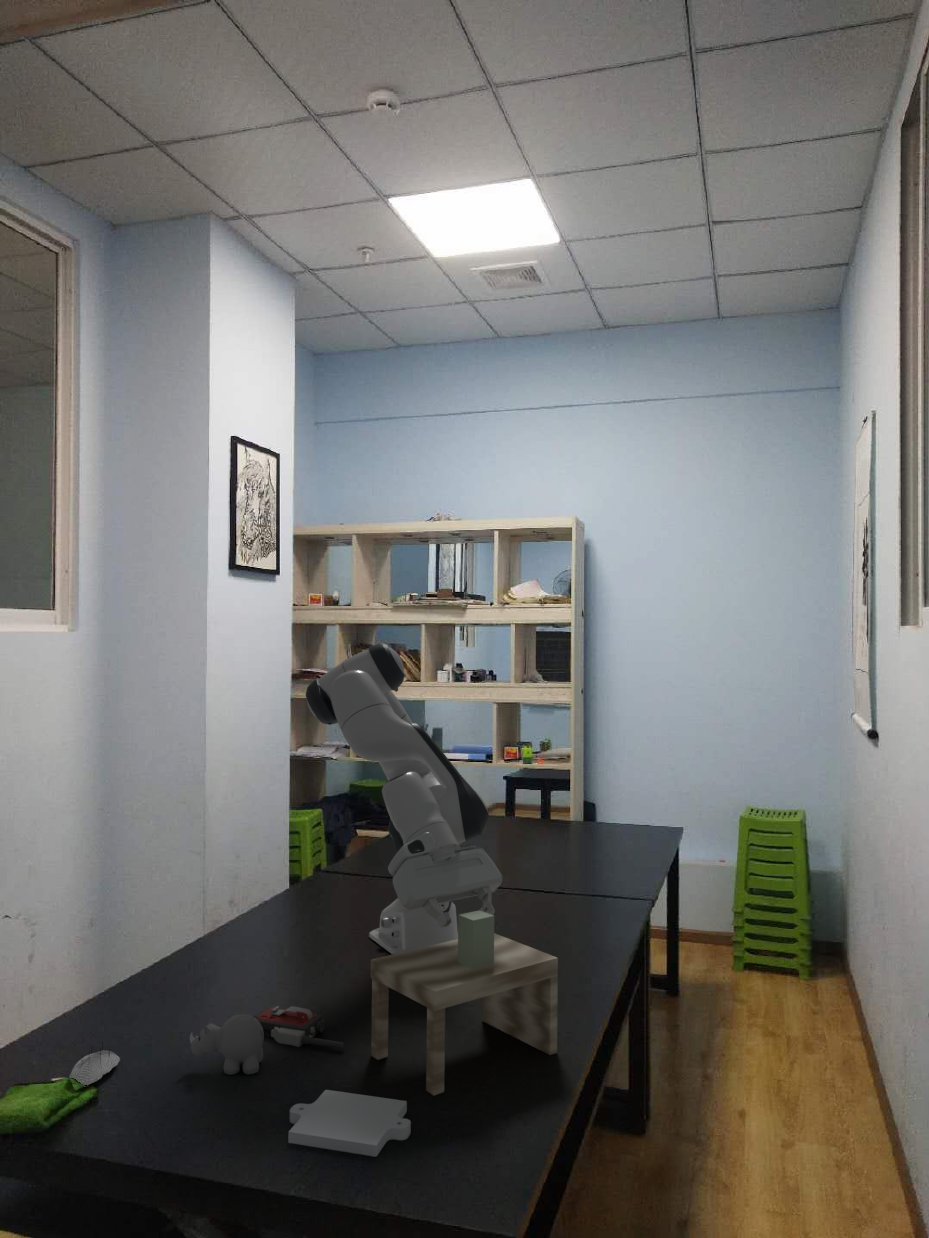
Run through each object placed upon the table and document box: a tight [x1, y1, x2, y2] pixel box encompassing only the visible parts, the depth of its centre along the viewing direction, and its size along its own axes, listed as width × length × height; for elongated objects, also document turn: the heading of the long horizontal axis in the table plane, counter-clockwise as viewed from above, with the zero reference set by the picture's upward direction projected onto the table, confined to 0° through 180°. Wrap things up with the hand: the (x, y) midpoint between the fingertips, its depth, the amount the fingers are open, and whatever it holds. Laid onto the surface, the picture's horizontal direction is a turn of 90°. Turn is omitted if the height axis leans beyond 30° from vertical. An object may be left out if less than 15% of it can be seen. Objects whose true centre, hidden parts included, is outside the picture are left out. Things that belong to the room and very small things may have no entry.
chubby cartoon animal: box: [189, 1013, 265, 1076], centre depth 159 cm, size 7×12×8 cm, turn 88°
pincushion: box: [68, 1039, 121, 1086], centre depth 156 cm, size 12×6×6 cm, turn 173°
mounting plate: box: [287, 1089, 412, 1157], centre depth 140 cm, size 18×13×2 cm
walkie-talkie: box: [252, 1005, 345, 1048], centre depth 172 cm, size 9×4×20 cm
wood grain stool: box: [370, 932, 559, 1096], centre depth 165 cm, size 18×26×16 cm
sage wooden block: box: [457, 909, 495, 970], centre depth 163 cm, size 4×4×8 cm
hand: (468, 919), depth 165 cm, fingers open, 8 cm apart
